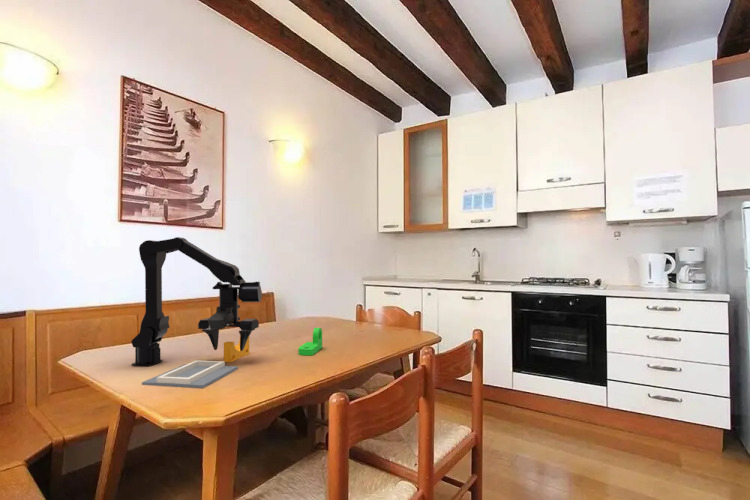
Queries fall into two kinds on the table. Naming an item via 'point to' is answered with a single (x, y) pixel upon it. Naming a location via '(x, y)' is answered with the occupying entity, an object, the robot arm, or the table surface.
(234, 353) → the pipe clamp
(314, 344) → the mechanical part
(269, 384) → the table surface
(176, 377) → the jig board
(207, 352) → the table surface
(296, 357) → the table surface
